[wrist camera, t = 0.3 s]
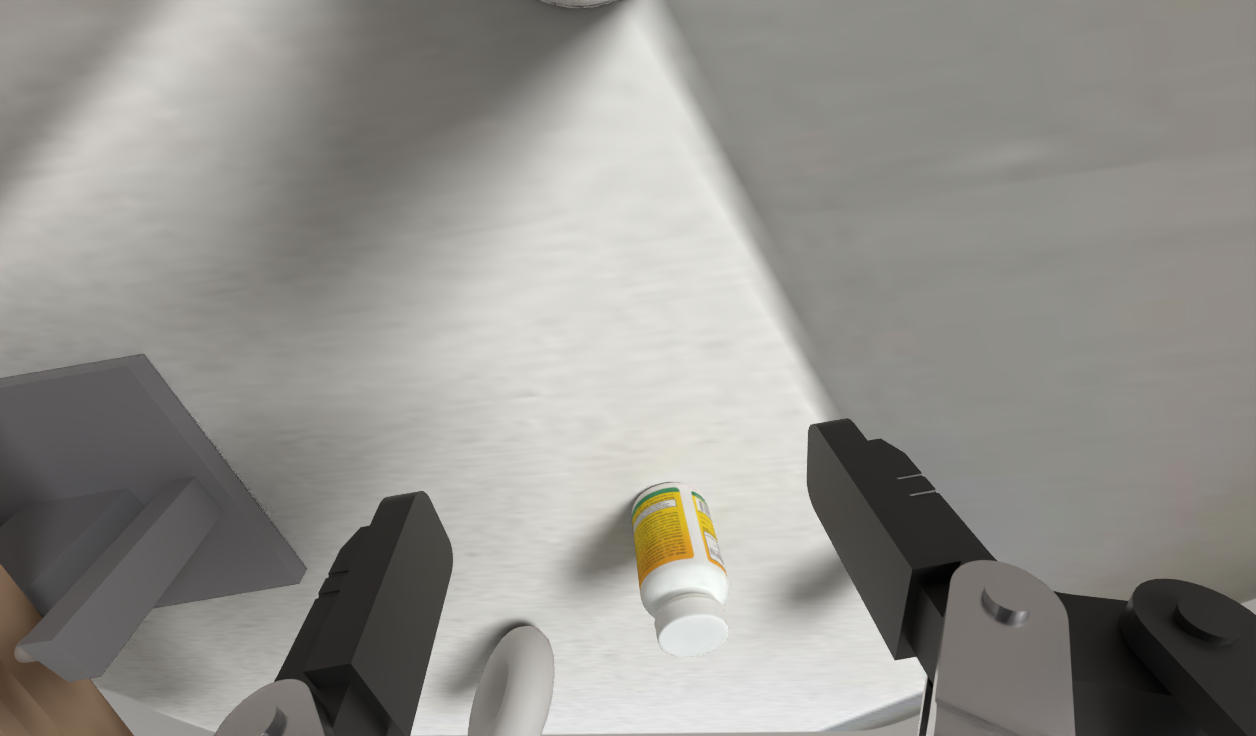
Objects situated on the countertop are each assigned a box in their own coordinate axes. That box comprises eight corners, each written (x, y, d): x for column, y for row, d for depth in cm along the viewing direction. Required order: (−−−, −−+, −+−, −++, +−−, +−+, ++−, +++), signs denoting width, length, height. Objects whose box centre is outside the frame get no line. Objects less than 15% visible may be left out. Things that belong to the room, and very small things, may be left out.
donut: (525, 595, 41) (513, 740, 32) (564, 606, 42) (562, 748, 33) (472, 660, 45) (448, 803, 36) (509, 668, 46) (494, 809, 37)
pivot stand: (-157, 405, 27) (-537, 593, 18) (143, 354, 27) (-81, 515, 18) (85, 606, 37) (-81, 796, 27) (306, 568, 37) (216, 745, 27)
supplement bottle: (717, 487, 36) (759, 615, 28) (686, 538, 39) (717, 669, 31) (646, 472, 35) (668, 602, 27) (619, 525, 37) (632, 659, 29)
